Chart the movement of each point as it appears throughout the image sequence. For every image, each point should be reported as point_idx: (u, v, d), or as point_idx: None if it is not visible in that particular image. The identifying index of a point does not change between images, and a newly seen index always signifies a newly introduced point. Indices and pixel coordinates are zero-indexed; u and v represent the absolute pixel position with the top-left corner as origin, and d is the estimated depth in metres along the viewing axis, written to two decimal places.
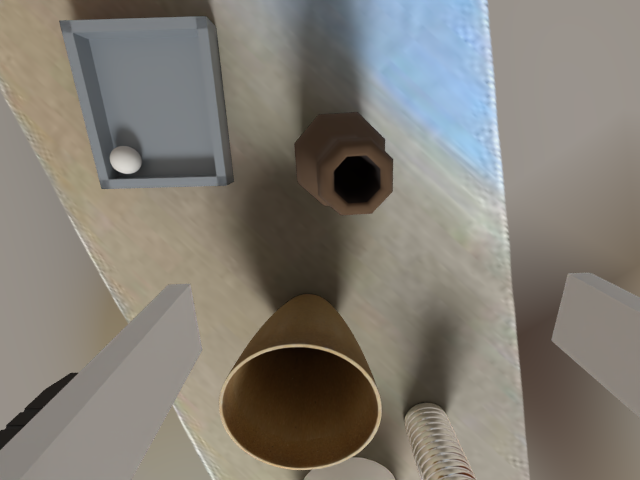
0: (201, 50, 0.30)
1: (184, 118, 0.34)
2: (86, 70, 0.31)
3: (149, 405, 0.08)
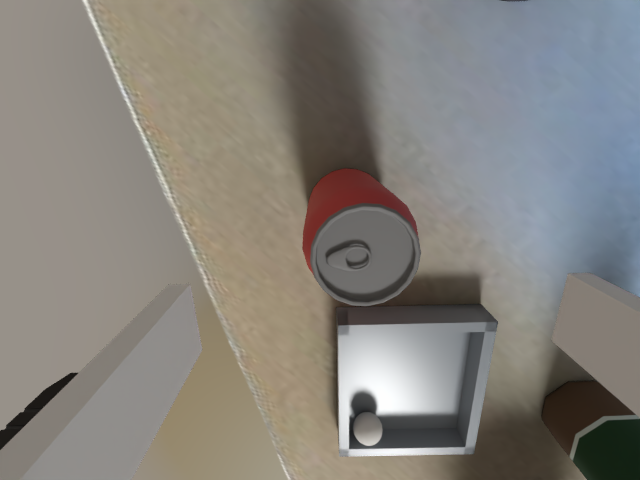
0: (483, 349, 0.28)
1: (429, 383, 0.32)
2: None
3: (149, 405, 0.08)
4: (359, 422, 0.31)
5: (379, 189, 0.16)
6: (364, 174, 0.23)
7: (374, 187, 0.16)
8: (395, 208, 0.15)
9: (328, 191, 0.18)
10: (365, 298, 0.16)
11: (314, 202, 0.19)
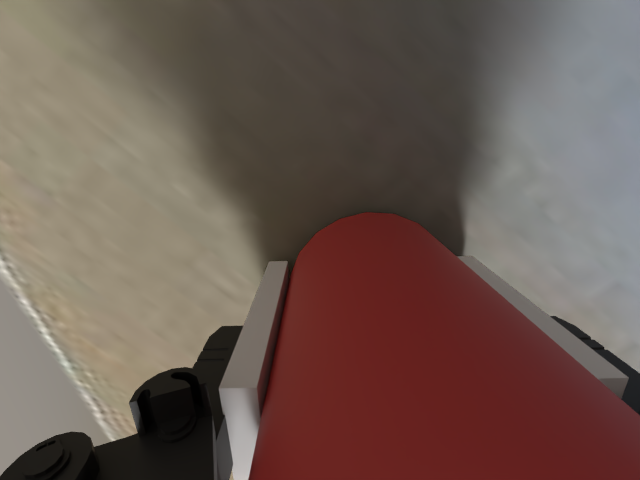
0: None
1: None
2: None
3: None
4: None
5: None
6: (424, 239, 0.09)
7: (621, 458, 0.03)
8: None
9: (340, 378, 0.04)
10: None
11: (286, 386, 0.05)
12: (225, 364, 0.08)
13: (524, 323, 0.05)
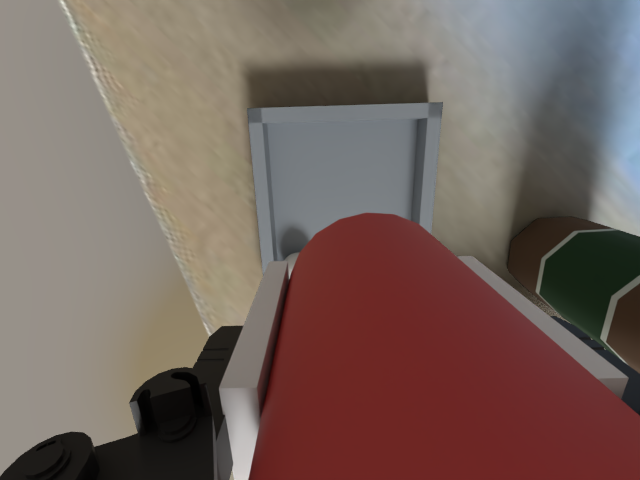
0: (427, 144, 0.23)
1: None
2: (267, 165, 0.24)
3: None
4: (287, 258, 0.26)
5: None
6: (425, 240, 0.09)
7: (625, 463, 0.03)
8: None
9: (340, 380, 0.04)
10: None
11: (286, 388, 0.05)
12: (225, 364, 0.08)
13: (525, 325, 0.05)
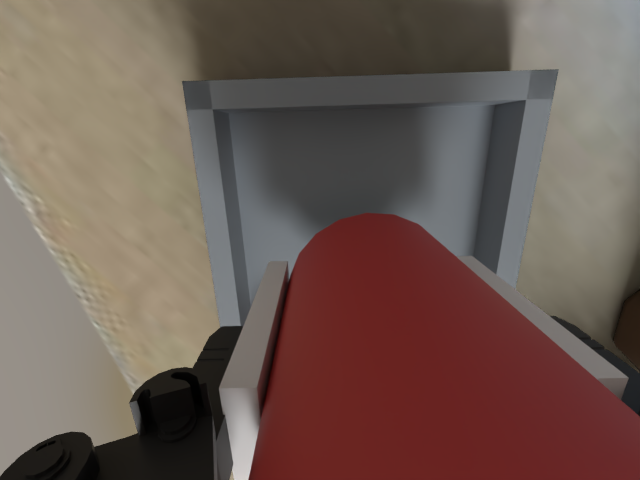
0: (521, 149, 0.12)
1: None
2: (227, 187, 0.14)
3: None
4: None
5: None
6: (424, 240, 0.09)
7: (624, 463, 0.03)
8: None
9: (340, 380, 0.04)
10: None
11: (286, 388, 0.05)
12: (225, 364, 0.08)
13: (525, 325, 0.05)
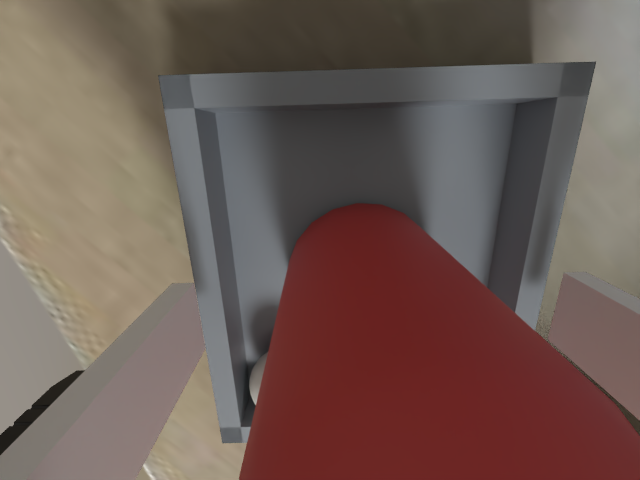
0: (550, 154, 0.11)
1: None
2: (214, 197, 0.12)
3: (154, 403, 0.08)
4: (259, 366, 0.14)
5: (529, 361, 0.04)
6: (405, 225, 0.10)
7: (507, 351, 0.04)
8: None
9: (325, 320, 0.06)
10: None
11: (285, 334, 0.07)
12: None
13: (473, 283, 0.07)
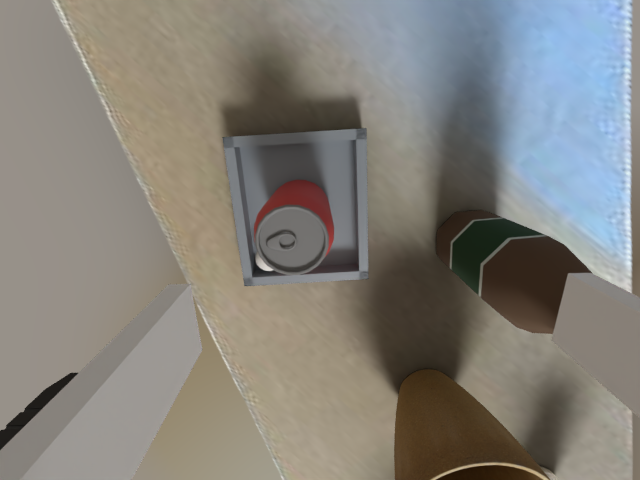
0: (358, 158, 0.31)
1: None
2: (240, 178, 0.32)
3: (149, 405, 0.08)
4: None
5: (302, 195, 0.24)
6: (306, 184, 0.30)
7: (299, 193, 0.24)
8: (310, 207, 0.23)
9: (271, 197, 0.26)
10: (296, 269, 0.24)
11: None
12: None
13: (309, 191, 0.27)
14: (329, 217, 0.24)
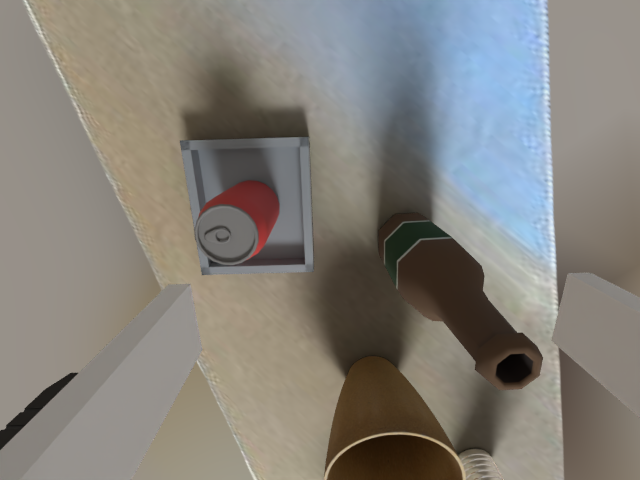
0: (301, 163, 0.34)
1: None
2: (197, 177, 0.35)
3: (149, 405, 0.08)
4: None
5: (239, 195, 0.28)
6: (254, 185, 0.34)
7: (236, 194, 0.28)
8: (242, 207, 0.27)
9: None
10: (231, 260, 0.28)
11: None
12: None
13: (250, 192, 0.30)
14: (262, 216, 0.28)
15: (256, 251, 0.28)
